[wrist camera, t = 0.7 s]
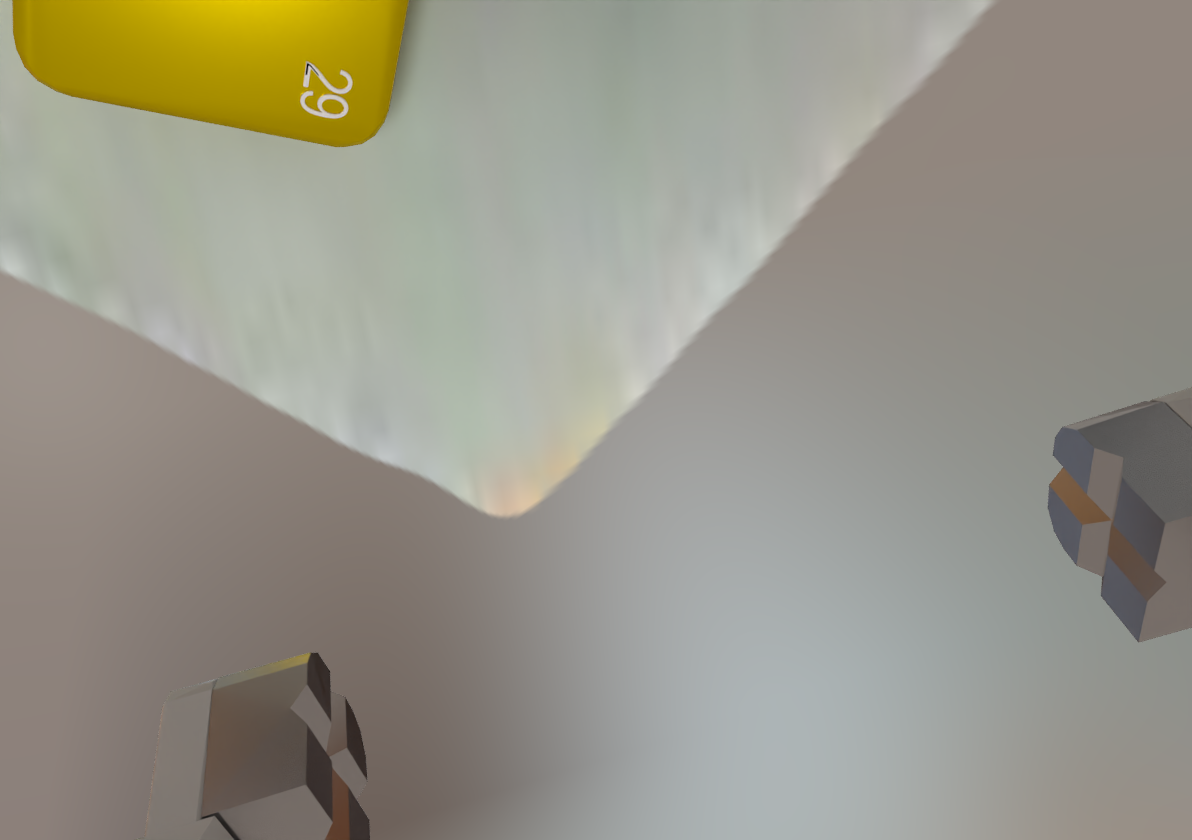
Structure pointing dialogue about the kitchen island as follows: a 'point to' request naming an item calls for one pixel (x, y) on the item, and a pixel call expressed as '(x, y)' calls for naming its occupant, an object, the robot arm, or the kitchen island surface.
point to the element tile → (224, 60)
